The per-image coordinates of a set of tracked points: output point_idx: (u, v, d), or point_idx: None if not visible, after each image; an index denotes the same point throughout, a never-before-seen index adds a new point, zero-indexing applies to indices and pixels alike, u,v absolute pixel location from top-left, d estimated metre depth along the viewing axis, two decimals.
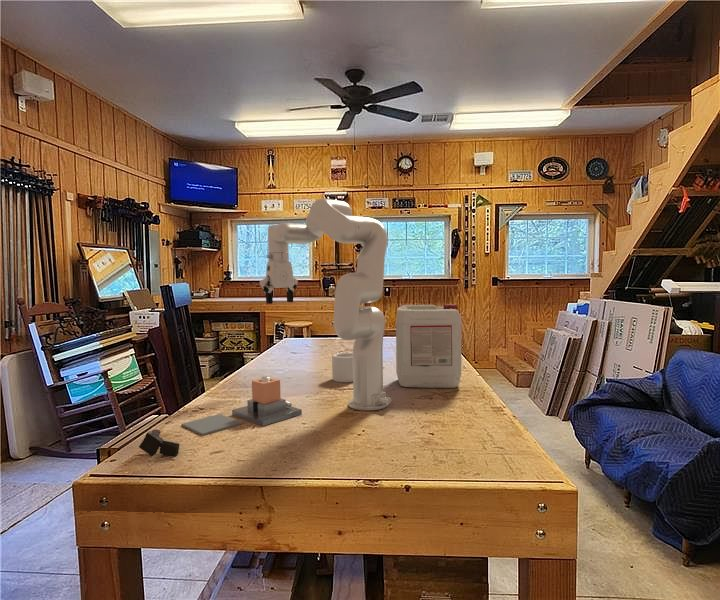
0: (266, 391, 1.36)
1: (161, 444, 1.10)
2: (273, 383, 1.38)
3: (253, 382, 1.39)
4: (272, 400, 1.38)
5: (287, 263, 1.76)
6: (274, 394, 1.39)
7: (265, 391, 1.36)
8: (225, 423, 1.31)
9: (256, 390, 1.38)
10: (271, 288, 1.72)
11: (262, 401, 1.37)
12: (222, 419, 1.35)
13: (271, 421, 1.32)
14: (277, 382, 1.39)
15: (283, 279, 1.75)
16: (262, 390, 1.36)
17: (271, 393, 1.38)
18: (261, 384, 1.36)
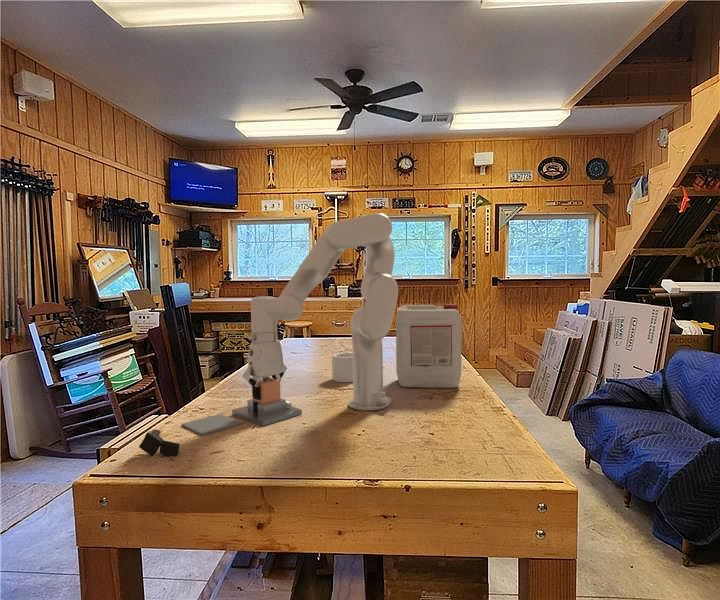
0: (266, 391, 1.36)
1: (161, 444, 1.10)
2: (273, 383, 1.38)
3: None
4: (272, 400, 1.38)
5: (276, 344, 1.39)
6: (274, 394, 1.39)
7: (265, 391, 1.36)
8: (225, 423, 1.31)
9: None
10: (258, 380, 1.36)
11: (262, 401, 1.37)
12: (222, 419, 1.35)
13: (271, 421, 1.32)
14: (277, 382, 1.39)
15: (270, 365, 1.37)
16: (262, 390, 1.36)
17: (271, 393, 1.38)
18: (261, 384, 1.36)
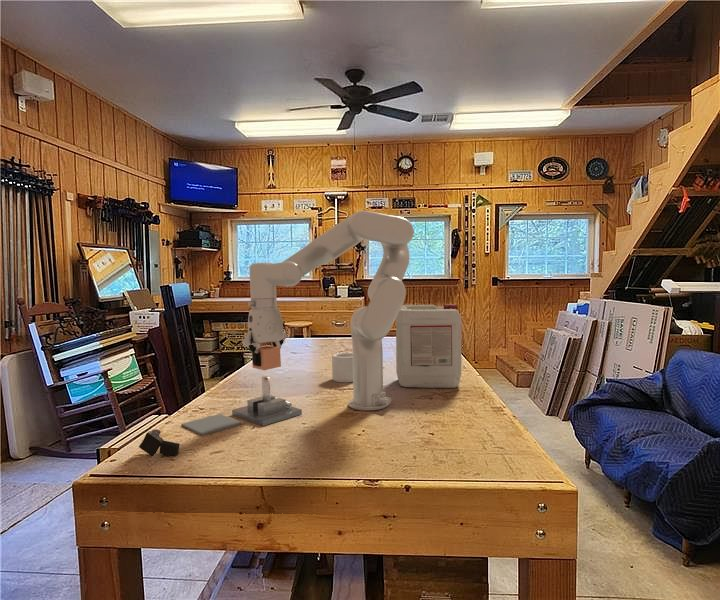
0: (266, 357, 1.36)
1: (161, 444, 1.10)
2: (273, 350, 1.38)
3: None
4: (272, 367, 1.38)
5: (275, 311, 1.38)
6: (274, 361, 1.38)
7: (265, 357, 1.36)
8: (225, 423, 1.31)
9: None
10: (258, 346, 1.36)
11: (262, 368, 1.36)
12: (222, 419, 1.35)
13: (271, 421, 1.32)
14: (277, 349, 1.39)
15: (270, 332, 1.37)
16: (262, 356, 1.36)
17: (272, 359, 1.37)
18: (261, 350, 1.36)
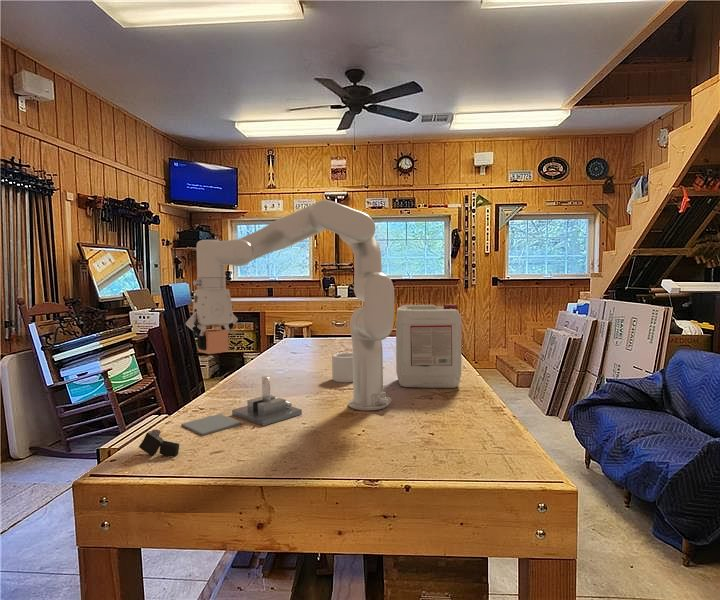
0: (212, 340, 1.27)
1: (161, 444, 1.10)
2: (220, 333, 1.29)
3: None
4: (219, 351, 1.29)
5: (223, 291, 1.30)
6: (221, 345, 1.29)
7: (210, 340, 1.27)
8: (225, 423, 1.31)
9: None
10: (203, 328, 1.27)
11: (207, 352, 1.27)
12: (222, 419, 1.35)
13: (271, 421, 1.32)
14: (225, 332, 1.30)
15: (217, 314, 1.28)
16: (207, 339, 1.27)
17: (218, 343, 1.29)
18: (206, 333, 1.27)
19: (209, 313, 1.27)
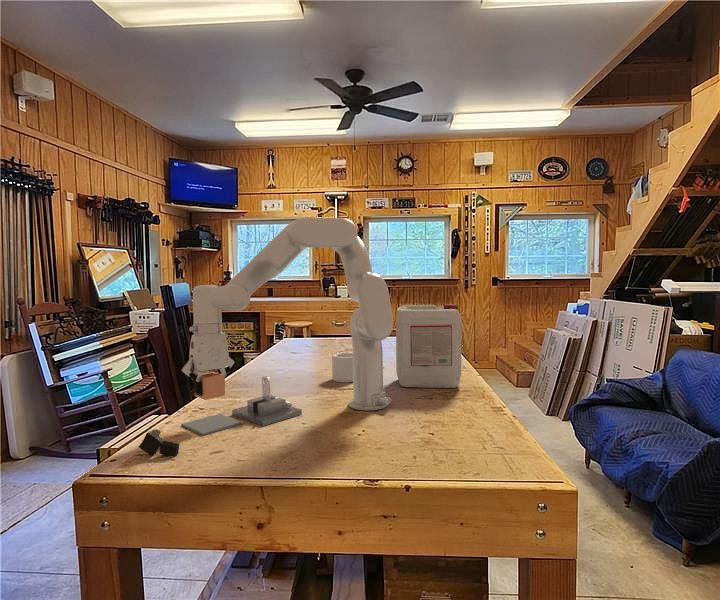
0: (208, 386, 1.27)
1: (161, 444, 1.10)
2: (216, 378, 1.29)
3: None
4: (215, 396, 1.29)
5: (220, 336, 1.30)
6: (217, 390, 1.29)
7: (207, 386, 1.27)
8: (225, 423, 1.31)
9: None
10: (199, 374, 1.27)
11: (203, 397, 1.27)
12: (222, 419, 1.35)
13: (271, 421, 1.32)
14: (221, 377, 1.30)
15: (213, 359, 1.28)
16: (203, 385, 1.27)
17: (214, 388, 1.29)
18: (203, 379, 1.27)
19: (205, 359, 1.27)
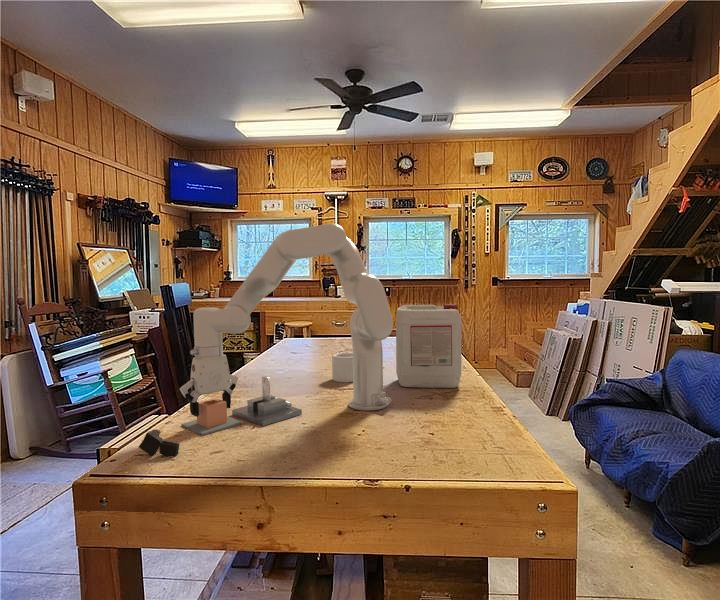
0: (210, 414, 1.28)
1: (161, 444, 1.10)
2: (218, 405, 1.30)
3: None
4: (217, 423, 1.30)
5: (221, 358, 1.30)
6: (219, 417, 1.30)
7: (209, 414, 1.28)
8: (225, 423, 1.31)
9: (200, 413, 1.30)
10: (197, 395, 1.27)
11: (206, 425, 1.28)
12: None
13: (271, 421, 1.32)
14: (223, 404, 1.31)
15: (214, 381, 1.29)
16: (206, 413, 1.28)
17: (216, 416, 1.29)
18: (205, 407, 1.28)
19: (207, 382, 1.27)
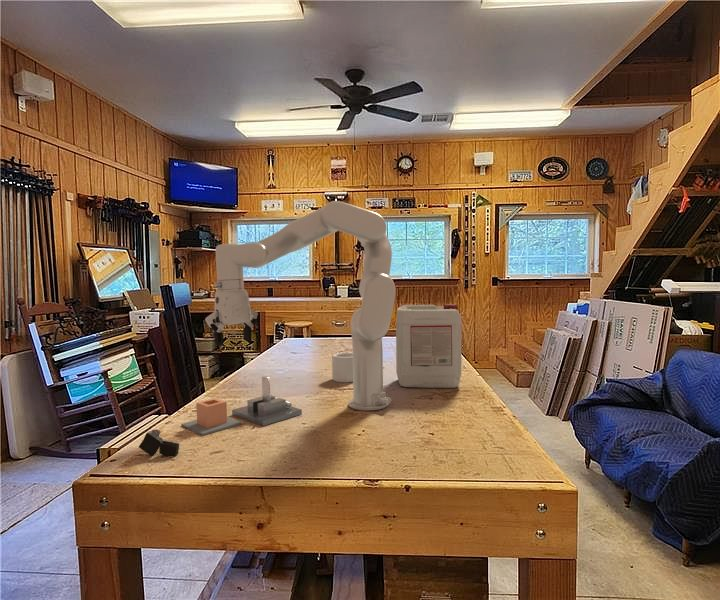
0: (210, 414, 1.28)
1: (161, 444, 1.10)
2: (218, 405, 1.30)
3: (197, 404, 1.31)
4: (217, 423, 1.30)
5: (242, 292, 1.38)
6: (219, 417, 1.30)
7: (209, 414, 1.28)
8: (225, 423, 1.31)
9: (200, 413, 1.30)
10: (221, 326, 1.34)
11: (206, 425, 1.28)
12: None
13: (271, 421, 1.32)
14: (223, 404, 1.31)
15: (237, 313, 1.36)
16: (206, 413, 1.28)
17: (216, 416, 1.29)
18: (205, 407, 1.28)
19: (230, 313, 1.34)
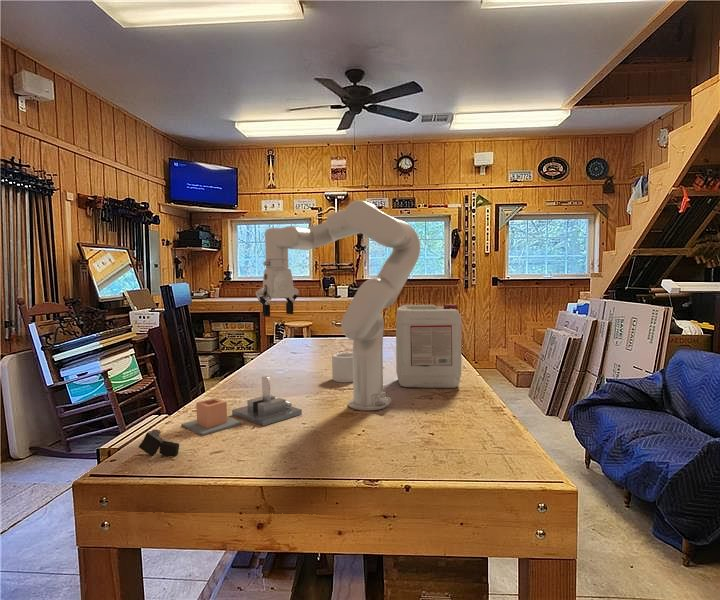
0: (210, 414, 1.28)
1: (161, 444, 1.10)
2: (218, 405, 1.30)
3: (197, 404, 1.31)
4: (217, 423, 1.30)
5: (287, 271, 1.57)
6: (219, 417, 1.30)
7: (209, 414, 1.28)
8: (225, 423, 1.31)
9: (200, 413, 1.30)
10: (268, 299, 1.54)
11: (206, 425, 1.28)
12: None
13: (271, 421, 1.32)
14: (223, 404, 1.31)
15: (282, 289, 1.56)
16: (206, 413, 1.28)
17: (216, 416, 1.29)
18: (205, 407, 1.28)
19: (276, 288, 1.54)
